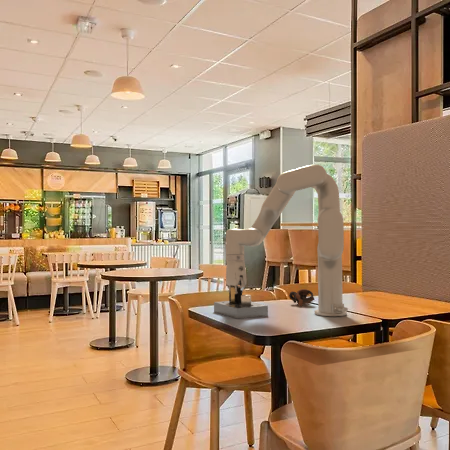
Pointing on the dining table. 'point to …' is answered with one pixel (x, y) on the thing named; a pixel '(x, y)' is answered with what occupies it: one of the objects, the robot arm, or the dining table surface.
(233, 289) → the bushing
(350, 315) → the dining table surface
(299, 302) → the brown animal figurine
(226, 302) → the jig
